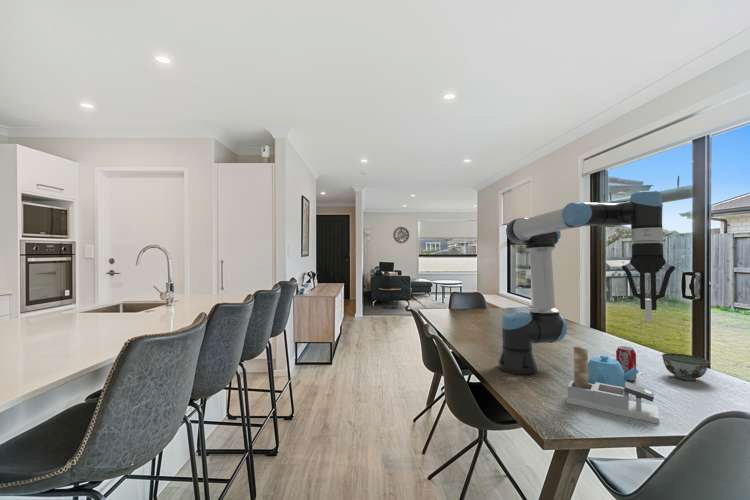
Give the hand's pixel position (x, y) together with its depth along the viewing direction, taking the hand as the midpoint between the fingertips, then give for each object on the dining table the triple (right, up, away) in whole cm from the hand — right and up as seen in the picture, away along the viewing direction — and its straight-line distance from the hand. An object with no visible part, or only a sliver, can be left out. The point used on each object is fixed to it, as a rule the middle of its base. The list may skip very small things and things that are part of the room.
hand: (648, 320), depth 103 cm
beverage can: (+15, -29, +30) cm, 44 cm away
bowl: (+38, -29, +30) cm, 56 cm away
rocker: (-2, -22, +1) cm, 22 cm away
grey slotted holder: (-7, -29, +5) cm, 30 cm away
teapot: (+1, -29, +22) cm, 36 cm away
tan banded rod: (-14, -27, +10) cm, 32 cm away
